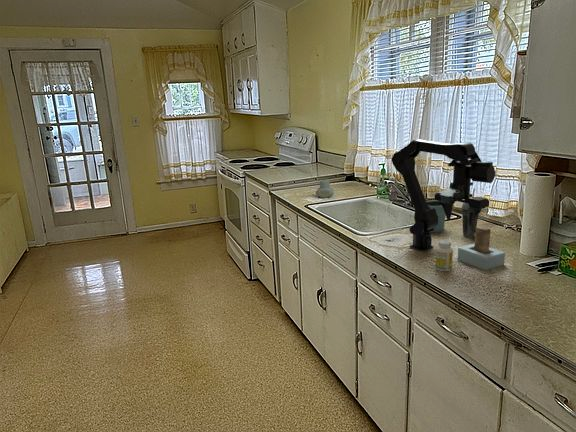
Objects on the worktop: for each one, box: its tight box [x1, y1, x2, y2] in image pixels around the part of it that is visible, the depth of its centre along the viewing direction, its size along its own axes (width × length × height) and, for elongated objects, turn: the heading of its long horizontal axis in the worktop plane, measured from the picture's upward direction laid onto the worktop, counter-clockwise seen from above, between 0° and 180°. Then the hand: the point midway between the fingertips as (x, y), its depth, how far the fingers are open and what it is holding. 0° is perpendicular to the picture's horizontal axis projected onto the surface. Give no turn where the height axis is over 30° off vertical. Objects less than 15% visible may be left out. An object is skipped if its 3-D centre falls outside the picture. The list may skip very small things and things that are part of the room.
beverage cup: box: [460, 187, 480, 238], centre depth 175 cm, size 7×7×20 cm
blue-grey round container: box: [426, 199, 446, 233], centre depth 187 cm, size 10×10×12 cm
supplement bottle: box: [434, 239, 454, 272], centre depth 145 cm, size 5×5×10 cm
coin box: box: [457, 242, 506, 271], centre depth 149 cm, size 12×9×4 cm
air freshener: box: [315, 179, 335, 199], centre depth 260 cm, size 11×8×10 cm
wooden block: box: [474, 225, 491, 254], centre depth 148 cm, size 4×2×12 cm, turn 24°
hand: (459, 222), depth 152 cm, fingers open, 9 cm apart
